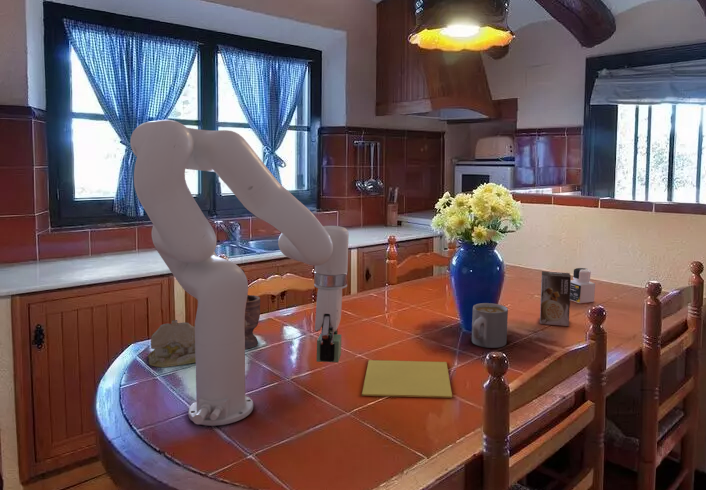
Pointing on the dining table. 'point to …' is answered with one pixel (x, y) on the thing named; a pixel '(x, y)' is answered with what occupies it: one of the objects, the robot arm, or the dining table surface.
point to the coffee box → (555, 298)
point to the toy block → (337, 348)
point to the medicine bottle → (582, 286)
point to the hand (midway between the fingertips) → (329, 355)
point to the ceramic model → (173, 345)
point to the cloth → (407, 379)
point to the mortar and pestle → (251, 319)
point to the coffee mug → (489, 325)
